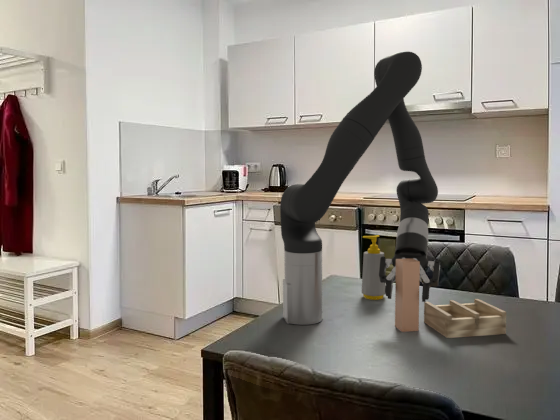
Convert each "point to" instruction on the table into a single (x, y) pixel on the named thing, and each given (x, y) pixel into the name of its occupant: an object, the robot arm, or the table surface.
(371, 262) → the soap bottle
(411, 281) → the clay bar
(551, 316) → the table surface
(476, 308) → the rack
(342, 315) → the table surface
